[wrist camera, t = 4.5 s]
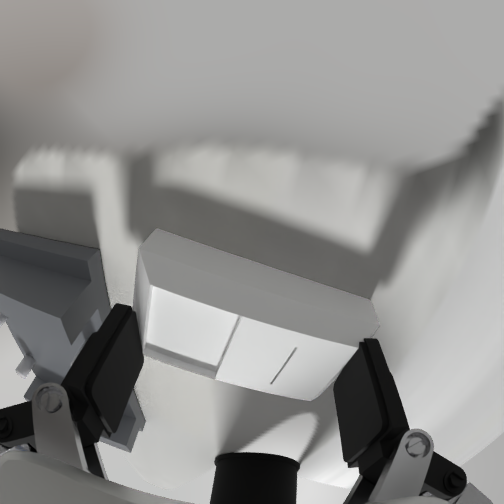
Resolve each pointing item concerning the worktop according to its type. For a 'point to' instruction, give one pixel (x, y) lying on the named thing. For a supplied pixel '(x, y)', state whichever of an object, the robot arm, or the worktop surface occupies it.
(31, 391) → the pin tray
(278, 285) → the white rectangular block
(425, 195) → the worktop surface
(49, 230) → the worktop surface
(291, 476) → the aerosol can
